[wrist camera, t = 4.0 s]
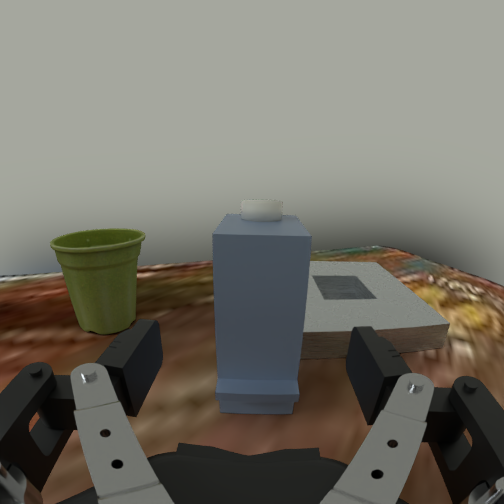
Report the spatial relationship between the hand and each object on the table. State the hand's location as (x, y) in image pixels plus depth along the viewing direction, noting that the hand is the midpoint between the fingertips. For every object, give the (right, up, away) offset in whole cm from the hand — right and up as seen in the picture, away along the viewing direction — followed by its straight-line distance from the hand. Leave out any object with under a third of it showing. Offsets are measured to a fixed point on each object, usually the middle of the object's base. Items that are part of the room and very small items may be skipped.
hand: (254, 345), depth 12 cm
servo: (0, -5, +7) cm, 9 cm away
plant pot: (-15, -3, +15) cm, 21 cm away
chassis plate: (+10, -2, +20) cm, 22 cm away
